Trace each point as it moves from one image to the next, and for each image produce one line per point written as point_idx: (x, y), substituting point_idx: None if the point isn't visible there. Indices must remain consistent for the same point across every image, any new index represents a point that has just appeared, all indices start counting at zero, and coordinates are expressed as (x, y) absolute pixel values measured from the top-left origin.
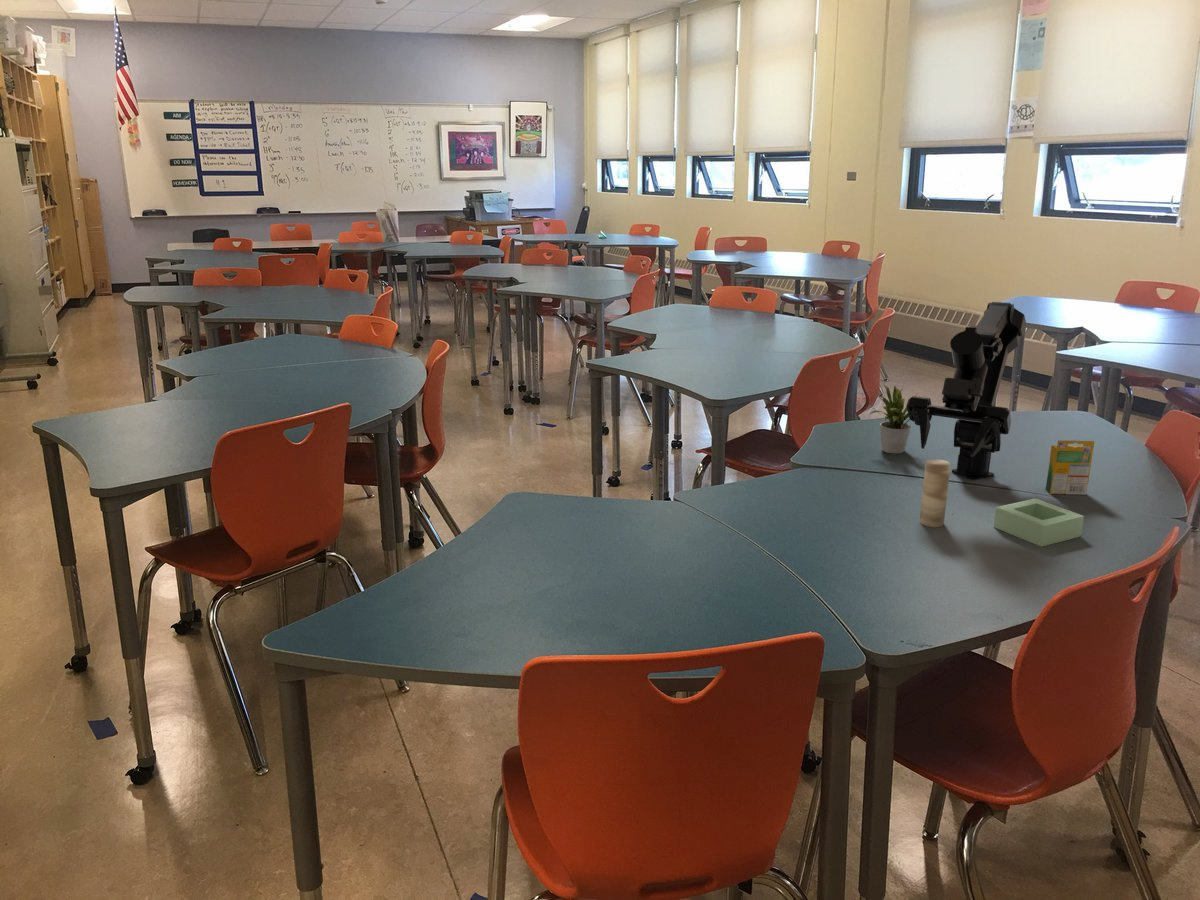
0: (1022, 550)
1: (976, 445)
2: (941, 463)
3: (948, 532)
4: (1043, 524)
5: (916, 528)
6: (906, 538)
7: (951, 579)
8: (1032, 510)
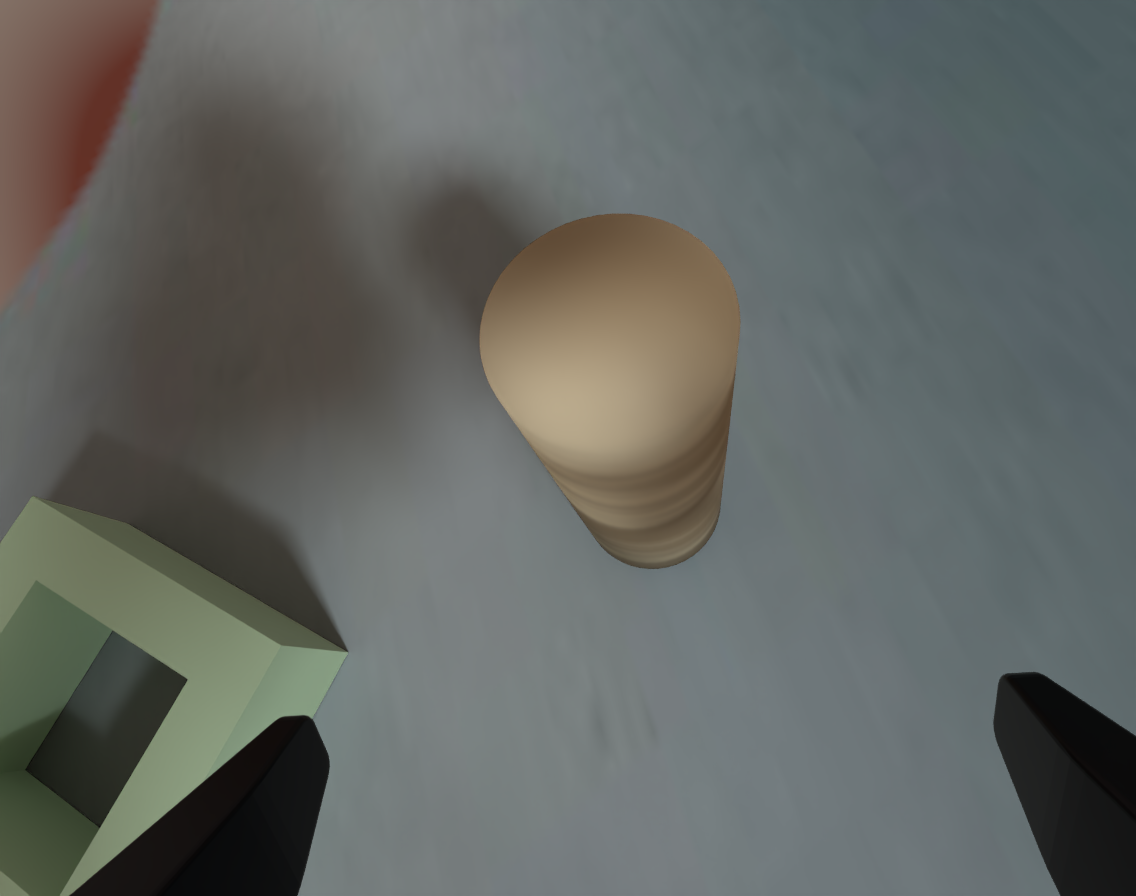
0: (199, 428)
1: (183, 810)
2: (570, 329)
3: None
4: (35, 514)
5: None
6: None
7: (397, 21)
8: None
